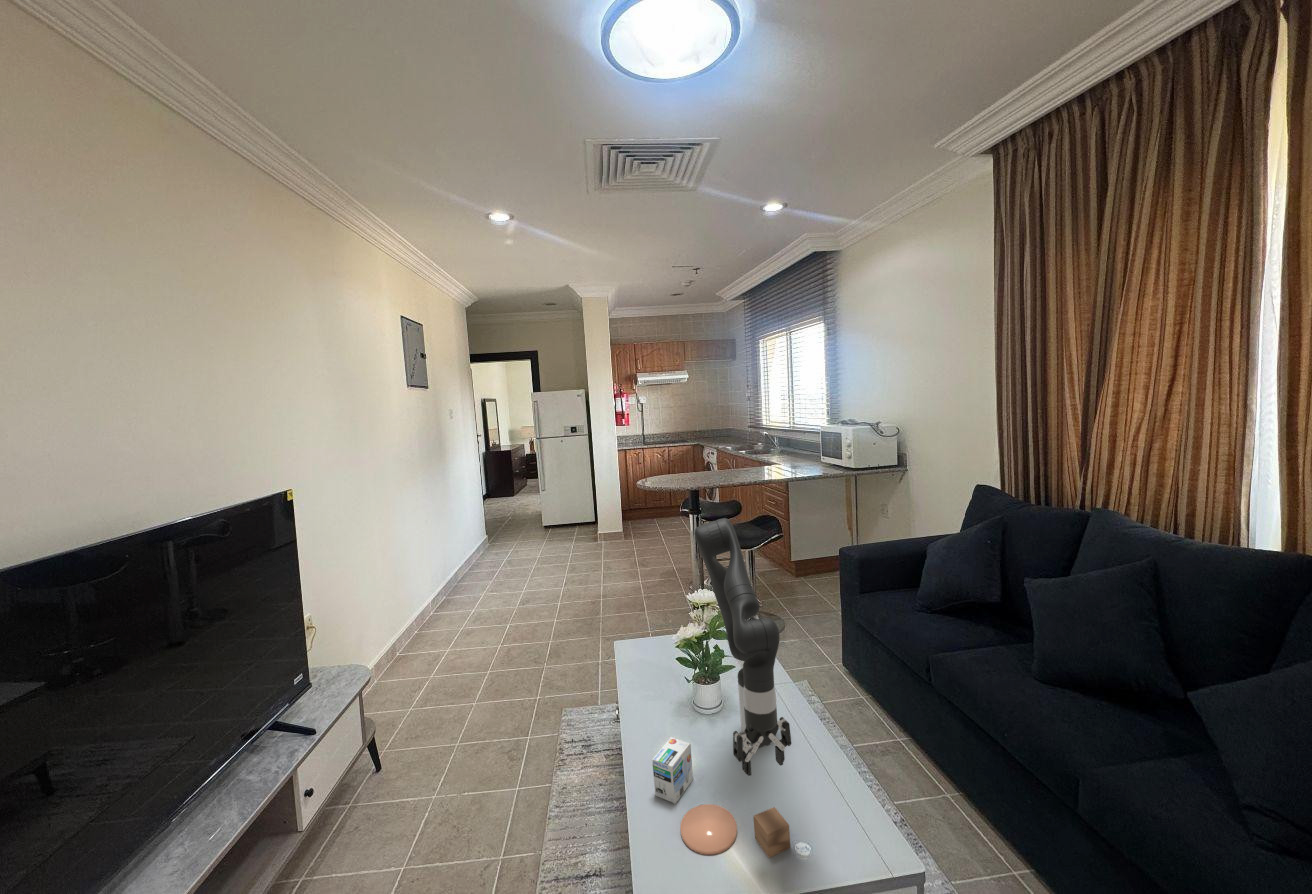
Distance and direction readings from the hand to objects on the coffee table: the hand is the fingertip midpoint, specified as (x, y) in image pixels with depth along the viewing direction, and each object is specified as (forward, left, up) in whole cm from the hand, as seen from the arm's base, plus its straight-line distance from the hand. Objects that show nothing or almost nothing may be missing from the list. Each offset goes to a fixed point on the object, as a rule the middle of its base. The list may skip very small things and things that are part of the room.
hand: (763, 768), depth 123 cm
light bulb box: (+13, -26, -19) cm, 35 cm away
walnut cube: (-1, +1, -19) cm, 19 cm away
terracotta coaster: (+11, -9, -19) cm, 24 cm away
